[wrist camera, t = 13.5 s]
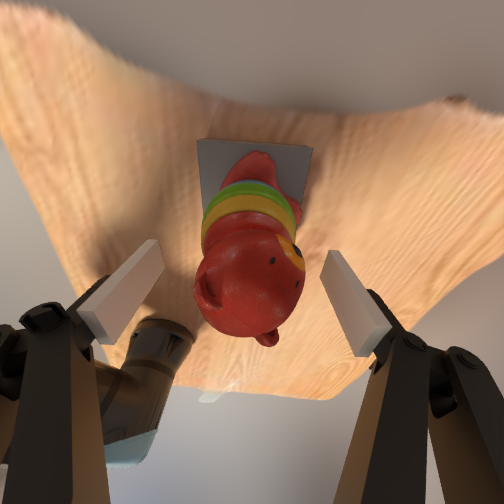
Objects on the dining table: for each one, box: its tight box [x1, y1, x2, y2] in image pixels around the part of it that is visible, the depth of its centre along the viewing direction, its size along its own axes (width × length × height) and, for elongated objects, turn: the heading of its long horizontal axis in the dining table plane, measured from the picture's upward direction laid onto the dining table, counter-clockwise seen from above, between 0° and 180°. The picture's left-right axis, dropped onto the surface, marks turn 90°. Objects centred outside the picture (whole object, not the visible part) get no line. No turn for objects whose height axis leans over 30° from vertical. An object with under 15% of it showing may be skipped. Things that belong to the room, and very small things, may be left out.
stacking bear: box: [193, 150, 305, 347], centre depth 17 cm, size 11×10×18 cm
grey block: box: [197, 138, 313, 216], centre depth 26 cm, size 13×14×4 cm
